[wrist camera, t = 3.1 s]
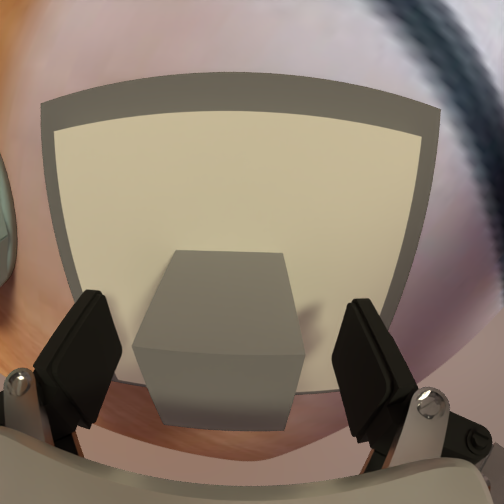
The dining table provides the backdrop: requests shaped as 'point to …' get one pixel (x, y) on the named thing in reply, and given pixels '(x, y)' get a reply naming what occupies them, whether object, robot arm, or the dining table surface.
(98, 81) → the dining table surface
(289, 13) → the dining table surface
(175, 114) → the square lid
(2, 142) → the dining table surface
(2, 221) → the bowl
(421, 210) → the mat
